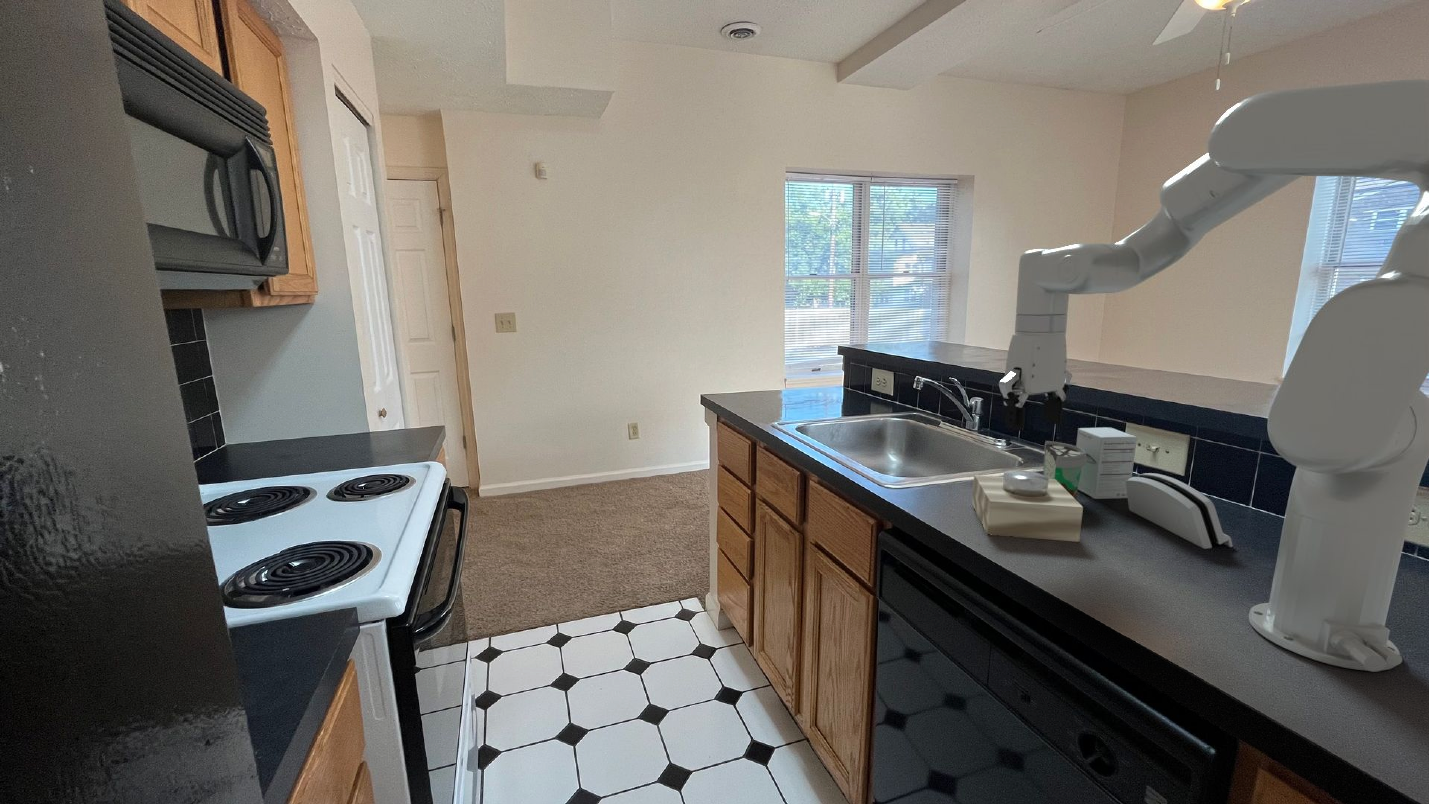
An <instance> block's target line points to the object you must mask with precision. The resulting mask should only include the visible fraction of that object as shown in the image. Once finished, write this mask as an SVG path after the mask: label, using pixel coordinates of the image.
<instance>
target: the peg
mask: <svg viewBox="0 0 1429 804" xmlns="http://www.w3.org/2000/svg"><path fill="white" fill-rule="evenodd" d="M1002 477H1003V489H1004V490H1005V491H1007V492H1009V493H1011V494H1015V495H1019V496H1025V497H1042V496H1045V495H1047V491H1048V481H1049V479H1048V477H1046V476H1045V475H1043V473H1042V474H1041V473H1039V472H1035V471H1031V470H1030V471H1029V470H1022V469H1019V470H1018V469H1017V470H1015V469H1014V470H1007V471H1004V472H1003V476H1002Z"/></svg>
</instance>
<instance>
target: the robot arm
mask: <svg viewBox="0 0 1429 804" xmlns="http://www.w3.org/2000/svg"><path fill="white" fill-rule="evenodd" d="M1303 176H1304V177H1345V178H1346V177H1349V178H1350V177H1351V178H1353V177H1354V178H1355V177H1356V178H1371V179H1372V178H1373V179H1383V180H1390V181H1396V182H1408V183H1411V184H1414V185H1416V186H1417V187H1418V188H1419V195H1418V197H1419V198H1418V200H1417V202H1416V204H1415V205H1414V207H1413V208H1412V210H1411V211H1410V213H1409V214H1408V215H1407V216H1406V218H1405V220H1404V221H1403V223H1402V224H1401V226H1400V227H1399V229H1398V231H1397V232H1396V234H1395V236H1394V239H1393V241H1392V244H1391V247H1390V249H1389V251H1388V253H1387V254H1386V256H1385V258H1384V260H1383V263H1382V265H1381V266H1380V268H1379V270H1378V272H1377V274H1376V276H1374V278H1373V279H1369V280H1365V281H1361V282H1359V283H1356V284H1353V285H1350V286H1349V287H1347V288H1345V289H1343V290H1341V291H1339V292H1337V293H1336V294H1335V295H1333V296H1332V297H1330V299H1328V300H1327V301H1326V302H1325V303H1324V304H1323V305H1322V306H1321V307H1320V308H1319V310H1318V311H1317V312H1316V314H1315V315H1313V317H1312V318H1311V321H1310V322H1309V324H1308V325H1307V328H1306V329H1305V331H1304V333H1303V336H1302V337H1301V340H1300V342H1299V344H1298V347H1297V349H1296V351H1295V353H1294V355H1293V357H1292V360H1291V362H1290V364H1289V366H1288V368H1287V370H1286V373H1285V374H1284V377H1283V379H1282V382H1281V383H1280V386H1279V388H1278V390H1277V392H1276V395H1275V397H1274V400H1273V402H1272V404H1271V407H1270V410H1269V413H1268V416H1267V424H1266V425H1267V429H1266V430H1267V434H1268V438H1269V441H1270V443H1271V445H1272V447H1273V448H1274V450H1275V451H1276V452H1277V453H1278V455H1279V456H1281V457H1282V459H1283V460H1285V461H1286V462H1288V463H1290V464H1291V465H1292V466H1295V467H1296V468H1295V470H1294V471H1295V472H1294V475H1293V478H1292V482H1291V486H1290V488H1289V489H1290V490H1289V496H1288V500H1287V505H1286V509H1285V515H1284V521H1283V525H1282V530H1281V534H1280V535H1281V536H1280V540H1279V541H1280V542H1279V547H1278V551H1277V558H1276V562H1275V566H1274V567H1275V569H1274V573H1273V579H1272V583H1271V584H1272V585H1271V589H1270V595H1269V600H1268V601H1269V602H1263V603H1258V604H1256V605H1254V606H1252V607H1251V608H1250V610H1249V613H1248V622H1249V623H1250V625H1251V627H1253V629H1255V631H1256V632H1257V633H1259V634H1260V635H1261V636H1262V637H1265V638H1266V639H1267V640H1269V641H1271V642H1272V643H1274V644H1276V645H1278V646H1279V647H1282V648H1283V649H1286V650H1288V651H1290V652H1293V653H1295V654H1298V655H1299V656H1303V657H1306V658H1308V659H1311V660H1314V661H1316V662H1317V661H1318V662H1321V663H1325V664H1327V665H1331V666H1335V667H1341V668H1345V669H1350V670H1356V671H1357V670H1358V671H1368V672H1373V673H1374V672H1376V673H1377V672H1381V671H1386V670H1391V669H1393V668H1395V667H1397V666H1398V665H1400V664H1401V663H1402V662H1403V657H1402V656H1401V655H1400V654H1401V653H1400V651H1399V648H1398V647H1397V646H1396V645H1395V644H1394V643H1393V641H1391V640H1390V639H1389V638H1390V636H1389V635H1390V632H1391V629H1389V628H1388V627H1386V621H1387V617H1388V612H1389V609H1390V608H1389V607H1390V605H1391V600H1392V596H1393V591H1394V588H1395V583H1396V579H1397V578H1396V577H1397V574H1398V569H1399V564H1400V561H1401V556H1402V552H1403V549H1404V543H1405V540H1406V536H1407V531H1408V529H1409V524H1410V520H1411V515H1412V513H1413V508H1414V503H1415V500H1416V497H1417V493H1418V489H1419V486H1420V484H1421V480H1422V477H1423V475H1424V472H1425V469H1426V467H1427V464H1428V461H1429V396H1427V395H1426V393H1424V392H1423V391H1422V390H1421V387H1422V386H1423V384H1424V382H1425V381H1426V379H1427V377H1428V375H1429V79H1421V78H1417V79H1416V78H1415V79H1413V78H1412V79H1411V78H1410V79H1409V78H1408V79H1397V80H1383V81H1374V82H1373V81H1371V82H1363V83H1351V84H1350V83H1349V84H1339V85H1328V86H1318V87H1317V86H1316V87H1304V88H1293V89H1292V88H1291V89H1280V90H1279V89H1278V90H1271V91H1270V90H1269V91H1266V92H1260V93H1257V94H1255V95H1252V96H1250V97H1247V98H1246V99H1243V100H1241V101H1240V102H1238V103H1235V105H1234V106H1232V107H1231V108H1229V109H1227V110H1226V112H1225V113H1224V114H1223V115H1222V116H1220V118H1219V119H1218V120H1217V121H1216V123H1214V126H1213V128H1212V129H1211V130H1210V134H1209V135H1208V140H1207V153H1206V154H1204V155H1203V156H1201V157H1200V158H1198V159H1197V160H1195V161H1194V162H1193V163H1191V164H1189V165H1188V166H1186V167H1185V168H1184V169H1182V170H1181V171H1179V172H1178V173H1176V174H1175V175H1174V176H1172V177H1170V178H1169V179H1168V180H1167V181H1165V182H1164V184H1163V185H1162V186H1161V188H1160V190H1159V203H1160V205H1161V207H1160V209H1159V210H1158V212H1157V214H1155V216H1154V217H1153V218H1151V219H1150V220H1149V221H1148V222H1147V223H1145V224H1144V225H1142V227H1140V228H1138V229H1137V230H1135V231H1134V232H1132V233H1131V234H1130V235H1128V236H1126V237H1124V238H1123V239H1121V240H1120V241H1118V242H1116V243H1077V244H1071V245H1068V246H1067V245H1066V246H1063V247H1059V248H1038V249H1030V250H1026V251H1025V252H1023V253H1022V254H1021V256H1020V258H1019V263H1018V277H1017V293H1016V294H1017V295H1016V308H1015V309H1016V310H1015V322H1014V323H1015V324H1014V325H1015V326H1014V327H1015V328H1014V333H1013V334H1012V336H1011V339H1010V343H1009V345H1008V346H1009V347H1008V350H1007V351H1008V352H1007V358H1006V363H1005V369H1004V372H1005V373H1004V377H1003V378H1002V379H1001V380H1000V381H999V382H998V386H999V390H1000V393H1001V394H1000V397H1001V399H1002V400H1003V406H1005V421H1004V427H1005V428H1006V429H1008V430H1013V431H1017V432H1023V431H1024V430H1025V425H1026V424H1025V423H1026V422H1025V421H1026V419H1025V418H1026V407H1024V404H1025V402H1026V401H1027V399H1028V397H1029V396H1034V395H1036V396H1037V395H1042V394H1043V395H1045V397H1046V398H1043V407H1042V422H1044V423H1050V424H1055V425H1061V424H1062V420H1063V410H1064V409H1063V408H1064V401H1065V400H1066V399H1067V395H1066V394H1067V392H1068V391H1069V388H1070V384H1071V381H1072V378H1073V373H1071V372H1070V371H1069V370H1068V369H1067V358H1068V357H1067V356H1068V355H1067V352H1068V351H1067V339H1066V337H1067V335H1066V334H1067V324H1068V313H1069V300H1070V299H1069V298H1070V295H1095V294H1116V293H1120V292H1121V293H1122V292H1124V291H1128V290H1130V289H1132V288H1134V287H1136V286H1138V285H1140V284H1142V283H1143V282H1146V280H1149V279H1150V278H1152V277H1154V276H1155V275H1158V274H1159V273H1161V272H1163V271H1165V270H1166V269H1168V268H1169V267H1171V266H1173V265H1174V264H1175V263H1177V262H1178V261H1179V260H1181V259H1182V258H1184V257H1185V256H1186V255H1187V254H1188V253H1189V252H1190V251H1191V250H1192V249H1193V248H1194V247H1195V246H1197V245H1198V244H1199V243H1200V241H1202V239H1203V238H1204V237H1205V236H1206V235H1207V234H1208V233H1209V232H1211V231H1213V230H1214V229H1215V228H1217V227H1219V226H1220V225H1223V223H1226V222H1227V221H1229V220H1231V219H1232V218H1234V217H1236V216H1238V215H1239V214H1241V213H1242V212H1244V211H1245V210H1247V209H1249V208H1251V207H1252V206H1255V205H1256V204H1257V203H1259V202H1261V201H1263V200H1264V199H1266V198H1268V197H1269V196H1271V195H1273V194H1275V193H1276V192H1278V191H1279V190H1281V189H1283V188H1285V187H1287V186H1288V185H1290V184H1291V183H1293V182H1295V181H1296V180H1298V179H1300V178H1301V177H1303ZM1017 395H1018V397H1017Z"/></svg>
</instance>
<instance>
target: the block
mask: <svg viewBox="0 0 1429 804" xmlns="http://www.w3.org/2000/svg"><path fill="white" fill-rule="evenodd" d="M972 488H973V490H972V499H971V500H972V501H971V505H973V506H972V508H973V507H974V508H973V509H975V510H974V512H975V511H976V512H975V513H977V514H976V515H977V517H978V520H979V521H980V523H981V525H982V524H983V525H982V527H983V529H984V531H985V530H986V531H985V533H986V535H987V534H992V535H991V536H997V535H999V537H1010V536H1013V538H1023V539H1024V538H1027V539H1040V540H1052V541H1065V542H1078V543H1079V542H1080V538H1081V537H1080V536H1081V527H1082V520H1083V513H1084V512H1083V510H1084V507H1083V506H1082V504H1081V503H1080V502H1079V501H1077V500H1076V499H1075V498H1074V497H1073V496H1072V495H1071V494H1070V493H1069V492H1068V491H1067V490H1066V489H1065V488H1064V487H1063V486H1062V485H1061V484H1060V483H1059V482H1058V481H1057V480H1056V479H1049V481H1048V491H1047V495H1045V496H1042V497H1025V496H1019V495H1015V494H1011V493H1009V492H1007V491H1005V490H1004V489H1003V476H1000V475H982V474H980V475H977V474H974V475H973V487H972Z"/></svg>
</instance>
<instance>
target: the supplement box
mask: <svg viewBox="0 0 1429 804" xmlns="http://www.w3.org/2000/svg"><path fill="white" fill-rule="evenodd" d="M1137 441H1138V437H1137V436H1135V435H1132V434H1130V433H1127V432H1124V431H1121V430H1118V429H1116V428H1113V427H1105V426H1103V427H1080V428H1079V427H1078V428H1077V437H1076V444H1075V446H1076V447H1079V448H1081V449H1083V450H1084V452H1085V454H1086V459H1087V464H1086V465H1084V466H1082V470H1081V475H1080V480H1079V485H1078V489H1077V491H1078V490H1079V491H1080V492H1082V493H1083V494H1086V495H1088V496H1090V497H1091V498H1092V499H1095V500H1103V499H1104V500H1106V499H1108V500H1109V499H1128V496H1127V489H1126V481H1127V480H1128V479H1130V478H1131V477H1133V469H1134V465H1135V464H1134V463H1135V455H1136V448H1137V443H1138V442H1137Z"/></svg>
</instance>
